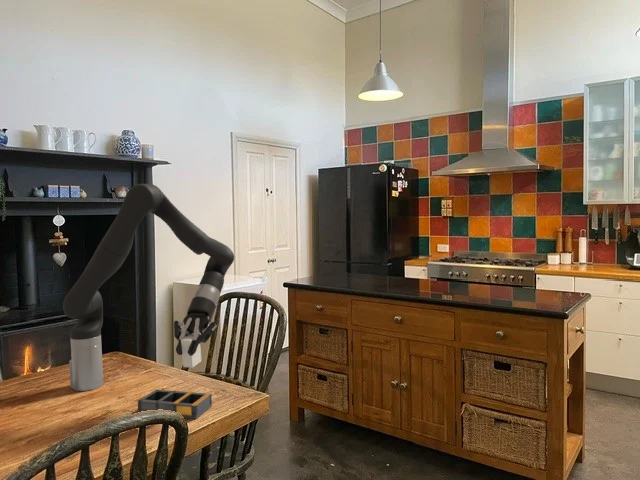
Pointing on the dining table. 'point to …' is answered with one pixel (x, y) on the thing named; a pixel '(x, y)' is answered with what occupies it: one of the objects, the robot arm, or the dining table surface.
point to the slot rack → (177, 402)
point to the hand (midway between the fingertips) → (184, 353)
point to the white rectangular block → (187, 359)
